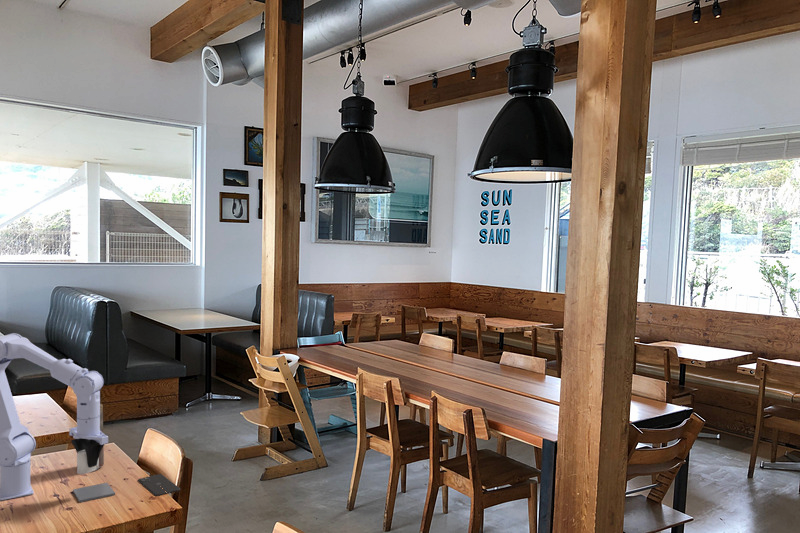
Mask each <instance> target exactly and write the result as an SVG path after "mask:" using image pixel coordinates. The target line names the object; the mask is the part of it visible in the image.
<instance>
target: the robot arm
mask: <svg viewBox="0 0 800 533" xmlns="http://www.w3.org/2000/svg"><path fill="white" fill-rule="evenodd" d="M14 359H25V360H26V361H28V362H31V363H33V364H35V365H37V366H39V367H42V368H44V369H45V370H49V372H50V373H49V374H50V376H51V378H53V379H56V380H57V381H59V382H61V383H62V384H65V385H67V386H68V387H69V388H71V389H72V391H73V393H74V394H75V396H76V426H74V427H71V428H69V432H68V433H69V434H68V435H69V436H71V437H73V439H72V440H71V445H72V446H73V448H74V449H75V452H76V453H77V452H79V451H82V450H85V451H86V455H87V464H88V467H89V468H91V467H94V466H96V465H97V462H98V458H99V455H100V452H101V450H102V448H103V447H104V446H105V445H106V444H109V436H108V435H106V434H105V433H104V432H103V433H102V432H101V431H100V404H101V390H102V387H103V386H104V383H105V380H104V378H103V375H102V374H101V373H99V372H98V370H97V371H96V370H89V369H88V368H86V367H85V368H83V367H81V366H79V365H77V364H75V363H74V360H72V359H71V358H68V359H66V358H62V359H61V358H60V359H58V358H56V357H54V356H53V355H51V354H49V353H48V352H46V351H45V350H43V349H42V348H40V347H38V346H36V345H35V344H34V343H32V342H31V341H30V340H29V339H28V338H27V337H24V336H22V335H21V334H19V333H17V332H16V333H15V332H12V333H8V334H6V335H2V336H0V501H5V500H10V499H16V498H21V497H25V496H31V495H34V494H35V492H34V489H33V487H32V485H31V457H32V453H33V452H34V451H35V449H36V447H37V446H36V445H37V442H36V439H35V437H34V436H33V435H32V434H31V433H30V430H29V428H28V426H26V425H24V424H22V423H21V420H20V418H19V417H20V416H19V414H18V411H17V410H18V409H17V407H16V405H15V400H14V398H13V394H12V392H11V391H12V390H11V388H10V385H9V381H8V378H7V375H6V372H5V370H6V369H7V367H8V366H9V364H10V363H11V362H12V361H13V360H14Z"/></svg>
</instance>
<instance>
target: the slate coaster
mask: <svg viewBox="0 0 800 533" xmlns="http://www.w3.org/2000/svg"><path fill="white" fill-rule="evenodd" d="M72 493H73V494H74V496H75V498H76V499H77V501H78V502H79V503H84V502H89V501H94V500H98V499H102V498H103V499H105V498H108V497H112V496H115V495H116V492H115V490H113V487H111V485H110V484H109V483H108V482H102V483H98V484H94V485H93V484H92V485H87V486H83V487H79V488H78V487H77V488H72Z"/></svg>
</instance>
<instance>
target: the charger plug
mask: <svg viewBox="0 0 800 533" xmlns="http://www.w3.org/2000/svg"><path fill="white" fill-rule="evenodd" d="M76 469H77V471H76V472H77V473H76V474H78V475H85V474H89V473H91V472H94V471H95V472H96V471H98V470H99V469H100V467H99V458H98V462H97V465H96V466H94V467H91V468H89V467H88V464H87V455H86V451H85V450H82V451H79V452H76Z"/></svg>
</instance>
